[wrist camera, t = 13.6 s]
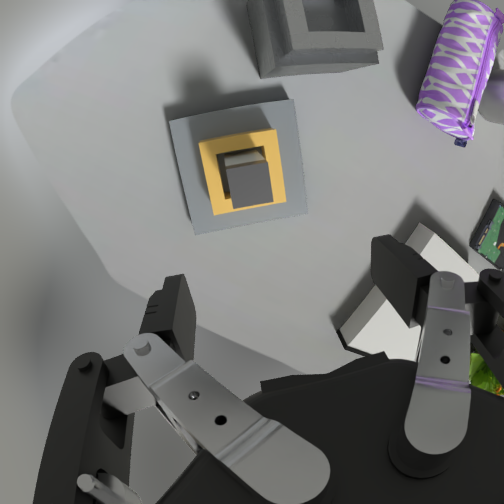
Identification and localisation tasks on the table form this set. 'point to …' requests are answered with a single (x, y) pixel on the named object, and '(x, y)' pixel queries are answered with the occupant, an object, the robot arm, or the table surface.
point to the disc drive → (385, 316)
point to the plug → (248, 179)
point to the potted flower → (483, 375)
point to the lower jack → (233, 141)
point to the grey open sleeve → (313, 36)
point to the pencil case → (460, 68)
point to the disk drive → (491, 236)
